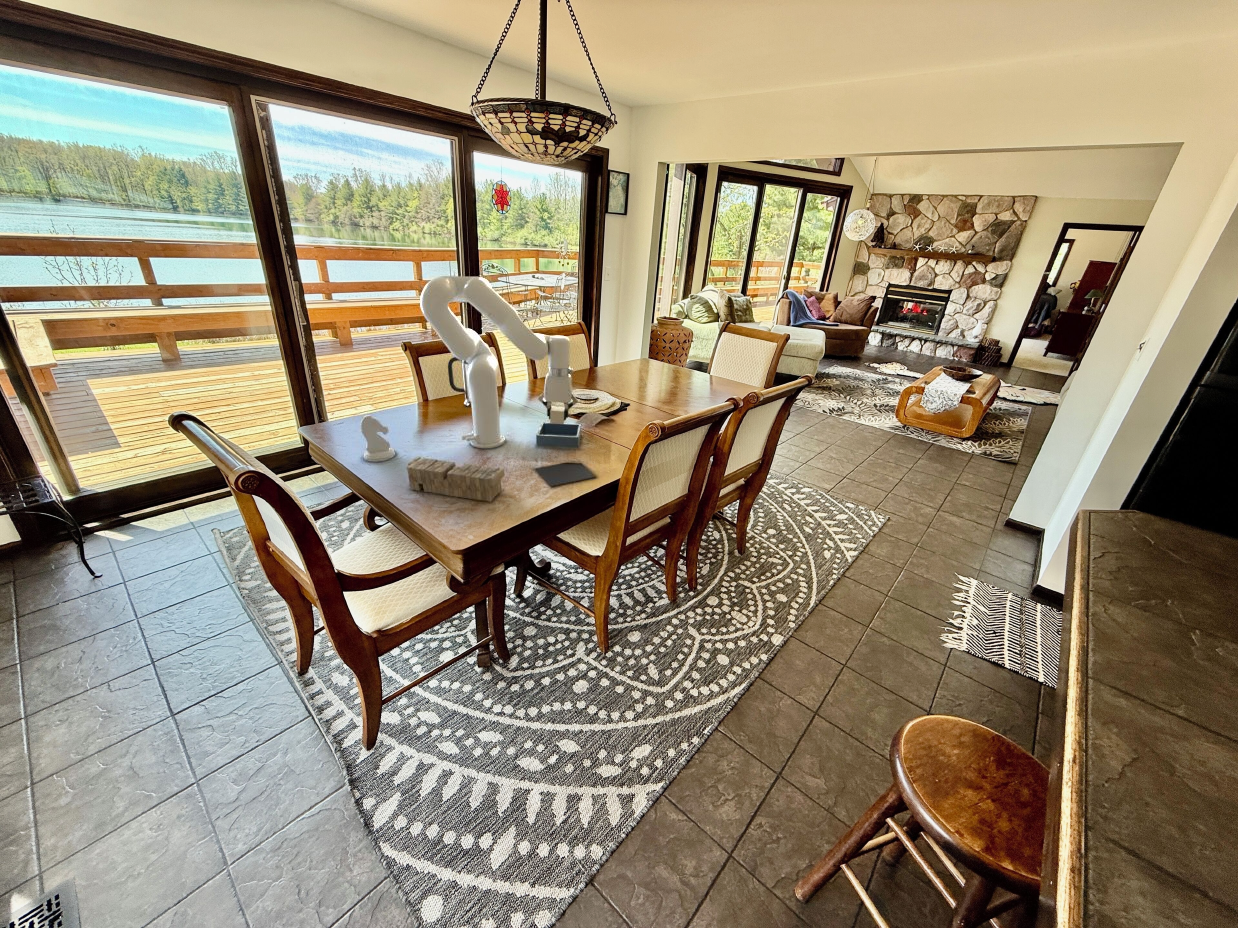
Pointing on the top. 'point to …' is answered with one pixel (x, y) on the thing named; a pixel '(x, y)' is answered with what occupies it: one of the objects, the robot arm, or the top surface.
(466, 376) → the coffee press
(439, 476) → the block tower
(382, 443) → the chess piece
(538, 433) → the bin
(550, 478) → the mat
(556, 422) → the block
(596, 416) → the grey curved sheet
